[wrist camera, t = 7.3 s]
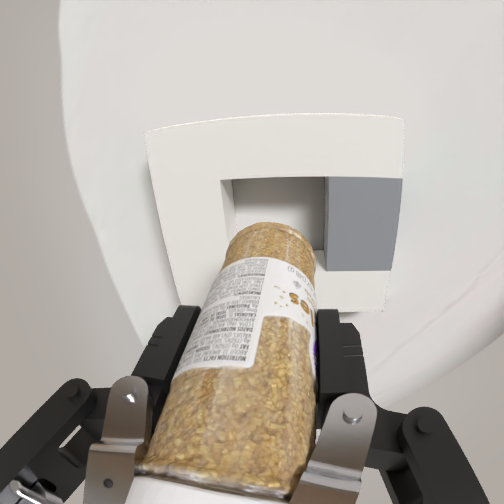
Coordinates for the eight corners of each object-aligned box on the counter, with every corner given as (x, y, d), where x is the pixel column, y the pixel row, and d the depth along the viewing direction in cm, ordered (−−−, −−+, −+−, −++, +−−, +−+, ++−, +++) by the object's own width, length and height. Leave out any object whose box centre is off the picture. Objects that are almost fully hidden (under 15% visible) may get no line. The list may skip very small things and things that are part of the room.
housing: (389, 116, 16) (404, 119, 14) (375, 288, 23) (382, 311, 21) (162, 127, 19) (143, 132, 17) (193, 287, 26) (182, 308, 23)
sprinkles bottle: (326, 282, 15) (331, 572, 3) (247, 304, 16) (183, 555, 5) (296, 204, 13) (266, 594, 1) (210, 235, 14) (66, 519, 3)
